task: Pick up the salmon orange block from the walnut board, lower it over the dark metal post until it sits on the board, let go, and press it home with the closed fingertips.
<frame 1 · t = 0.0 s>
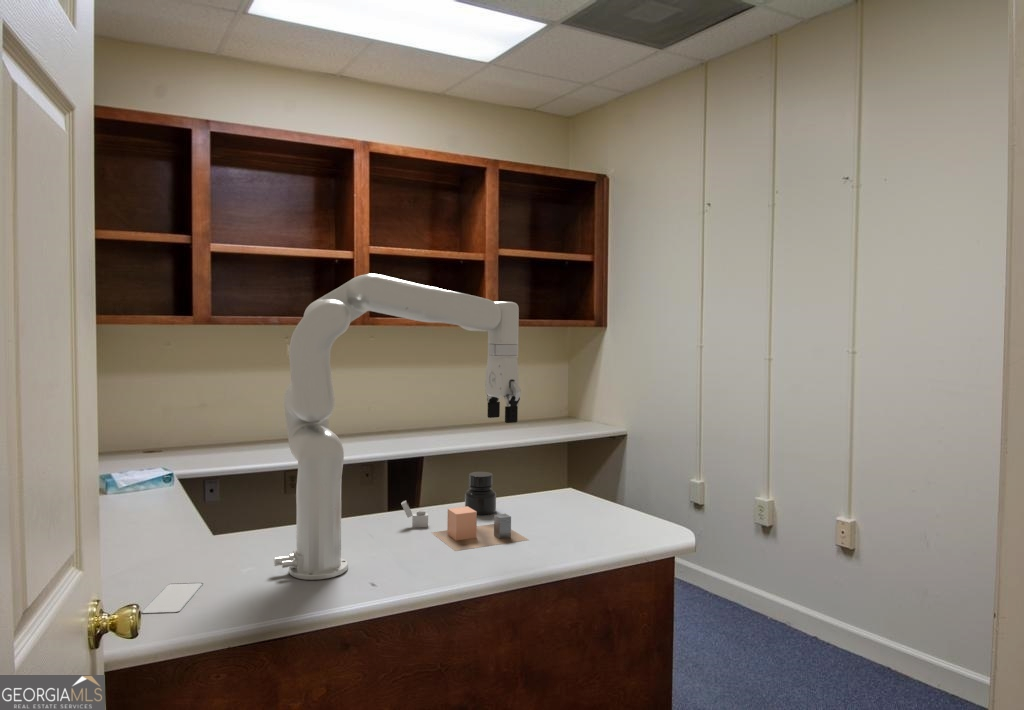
hand: (502, 419, 173), 31 cm above the worktop, tool pointing down, fingers open, 9 cm apart
ink bottle: (480, 516, 200), on the worktop
smartphone: (173, 600, 138), on the worktop
post: (502, 541, 176), resting on base board
salmon orange block: (461, 535, 176), point 1 cm above the worktop, touching base board
base board: (479, 540, 176), on the worktop
lighter: (414, 531, 184), on the worktop
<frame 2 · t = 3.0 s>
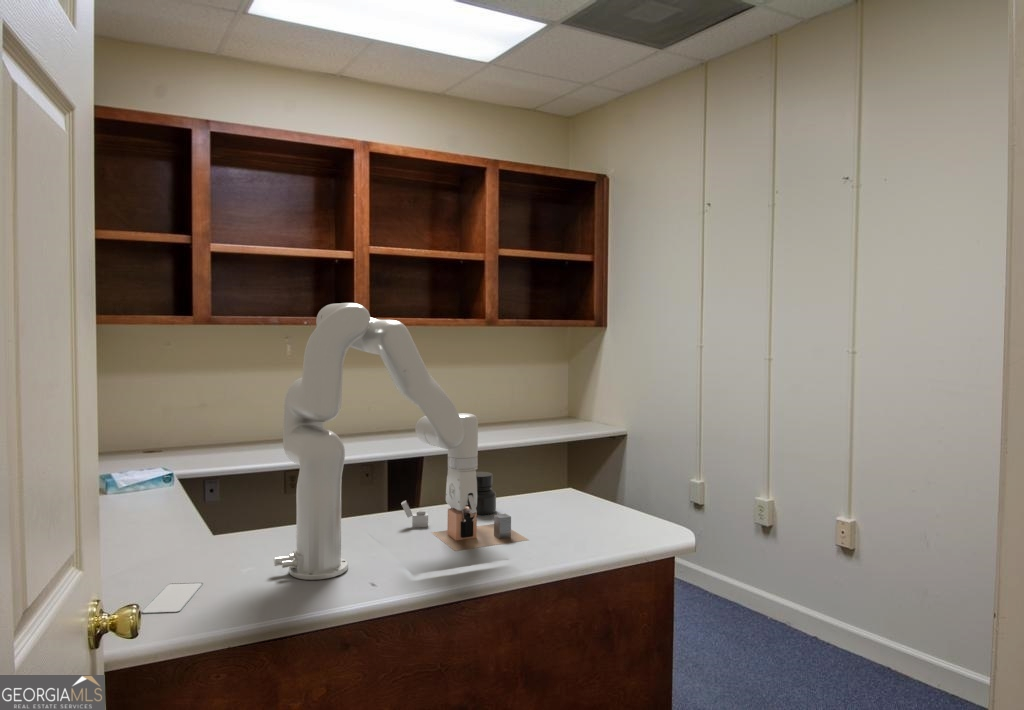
hand: (461, 532, 176), 2 cm above the worktop, tool pointing down, fingers closed on salmon orange block, 5 cm apart
salmon orange block: (461, 535, 176), point 1 cm above the worktop, touching base board, gripper
everything else where it was.
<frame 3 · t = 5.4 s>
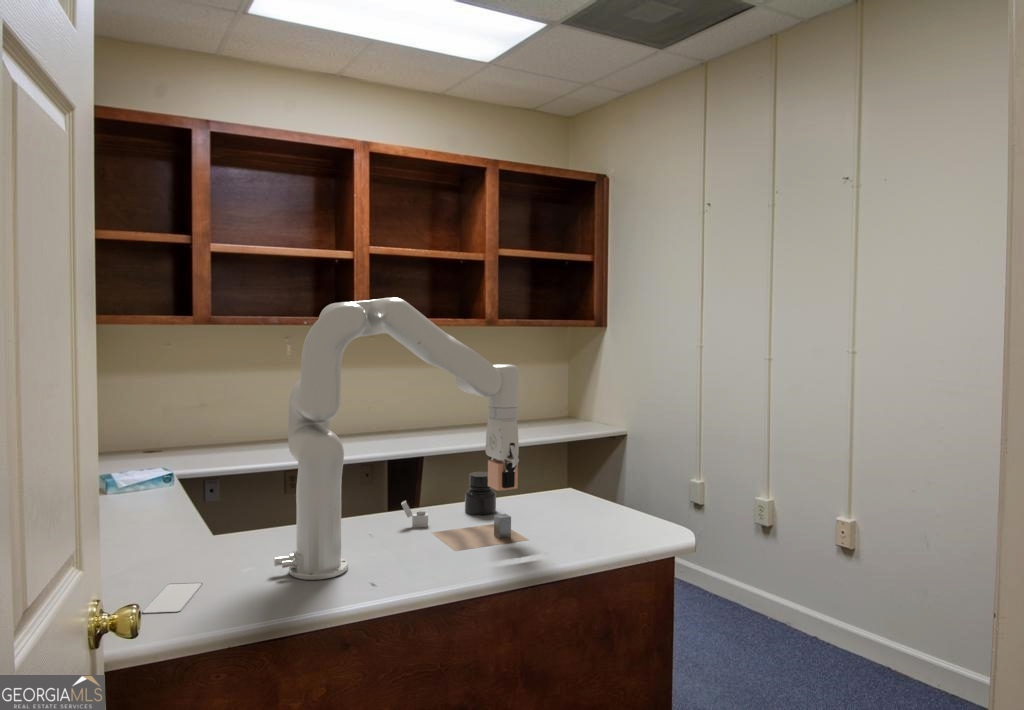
hand: (502, 484, 175), 15 cm above the worktop, tool pointing down, fingers closed on salmon orange block, 5 cm apart
salmon orange block: (502, 487, 175), point 14 cm above the worktop, touching gripper
everything else where it was.
when the fingers open (3 cm above the worktop, at t = 7.9 s): salmon orange block drops 1 cm, resting on base board.
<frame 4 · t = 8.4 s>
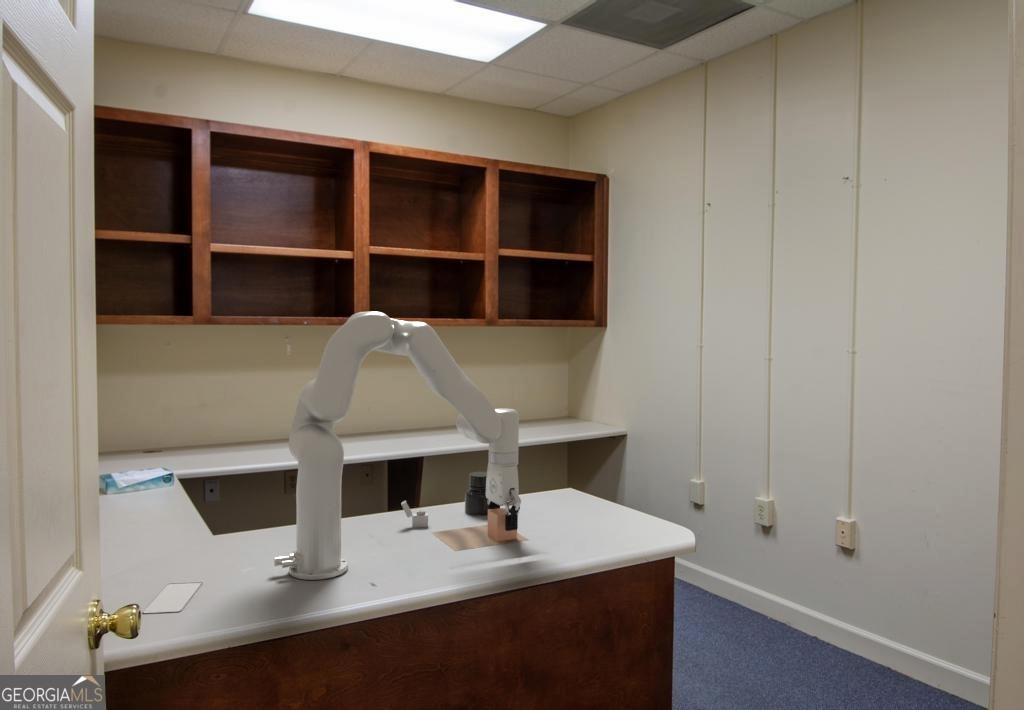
hand: (502, 524, 176), 4 cm above the worktop, tool pointing down, fingers open, 9 cm apart
salmon orange block: (502, 536, 176), point 1 cm above the worktop, touching base board
everything else where it was.
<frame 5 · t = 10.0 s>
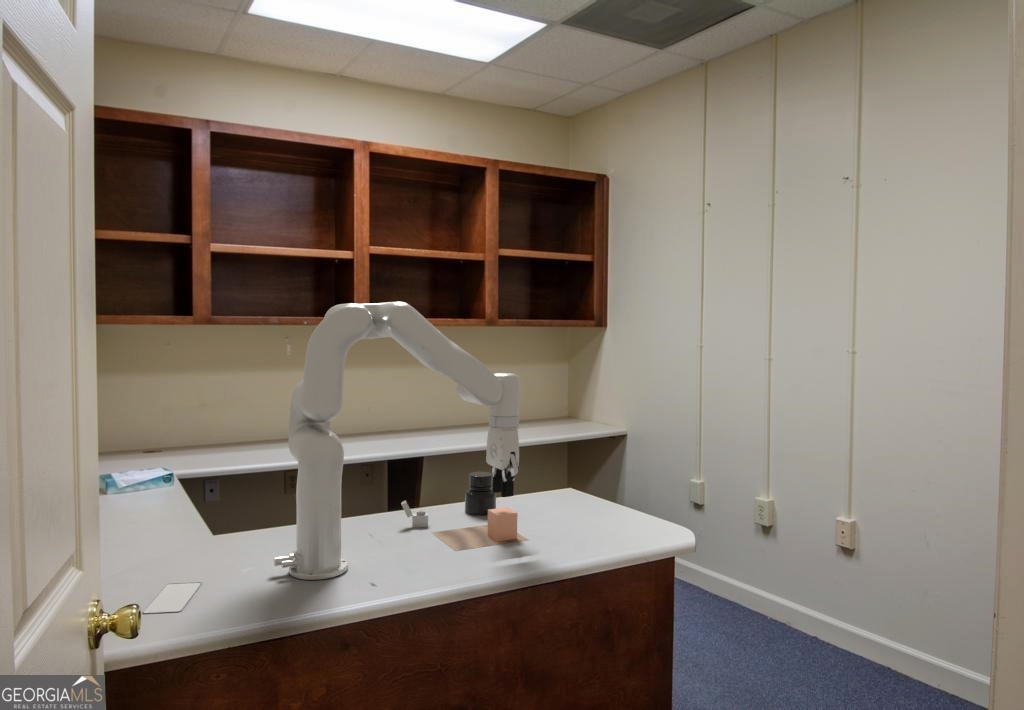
hand: (502, 493, 175), 12 cm above the worktop, tool pointing down, fingers open, 4 cm apart
nothing on the worktop moved.
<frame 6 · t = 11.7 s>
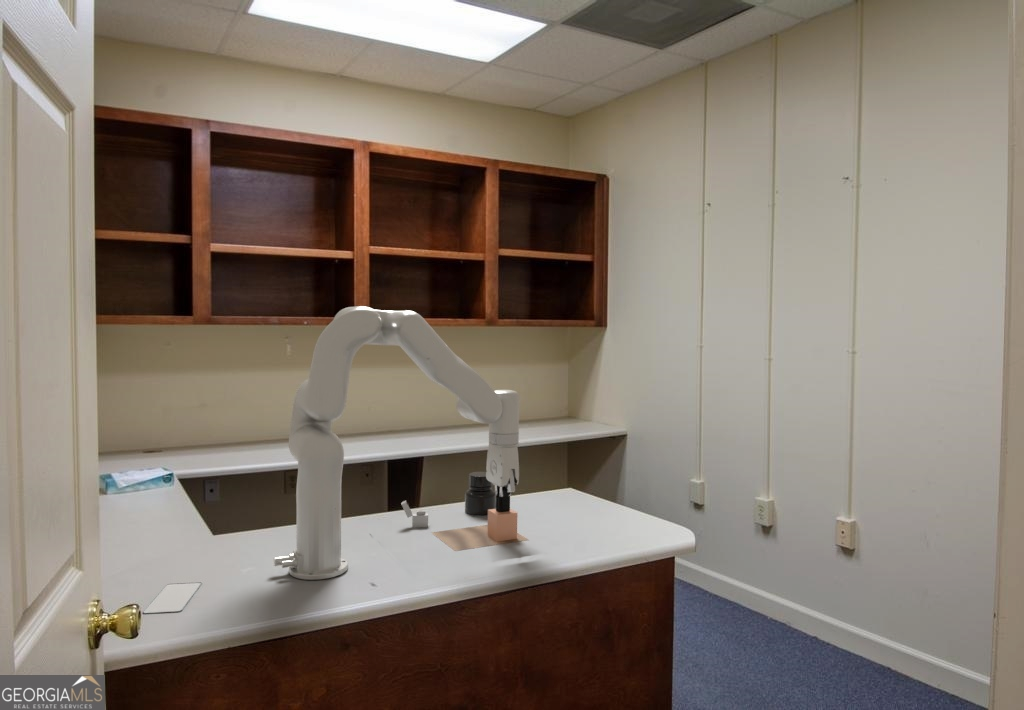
hand: (502, 511, 176), 8 cm above the worktop, tool pointing down, fingers closed
salmon orange block: (502, 536, 176), point 1 cm above the worktop, touching base board, gripper
everything else where it was.
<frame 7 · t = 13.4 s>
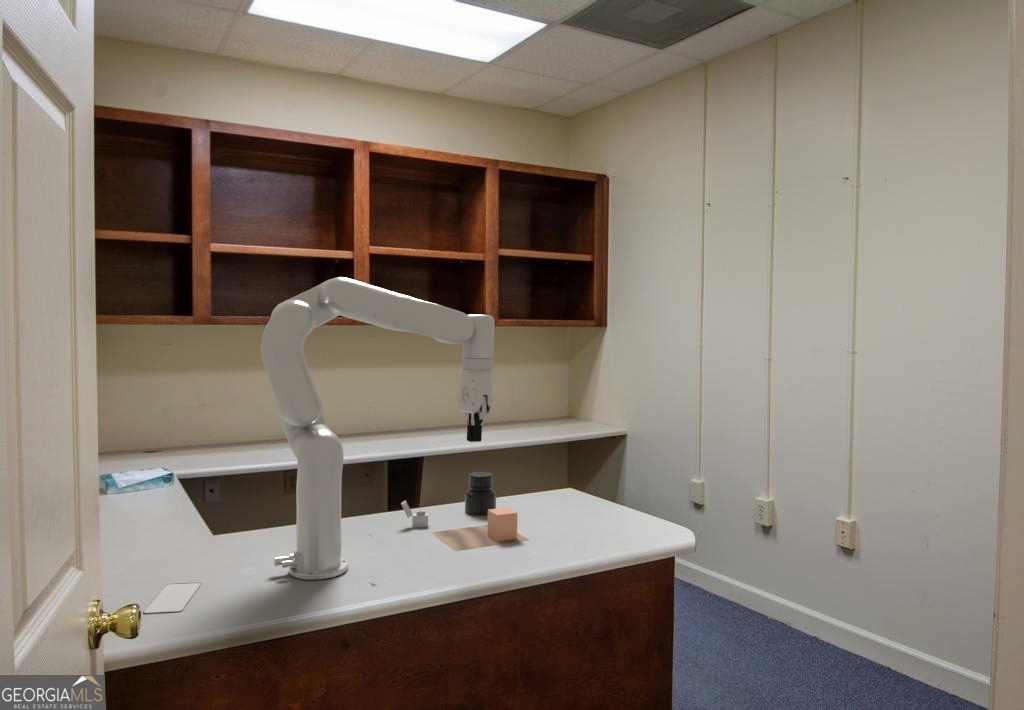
hand: (474, 441, 168), 27 cm above the worktop, tool pointing down, fingers closed
salmon orange block: (502, 536, 176), point 1 cm above the worktop, touching base board
everything else where it was.
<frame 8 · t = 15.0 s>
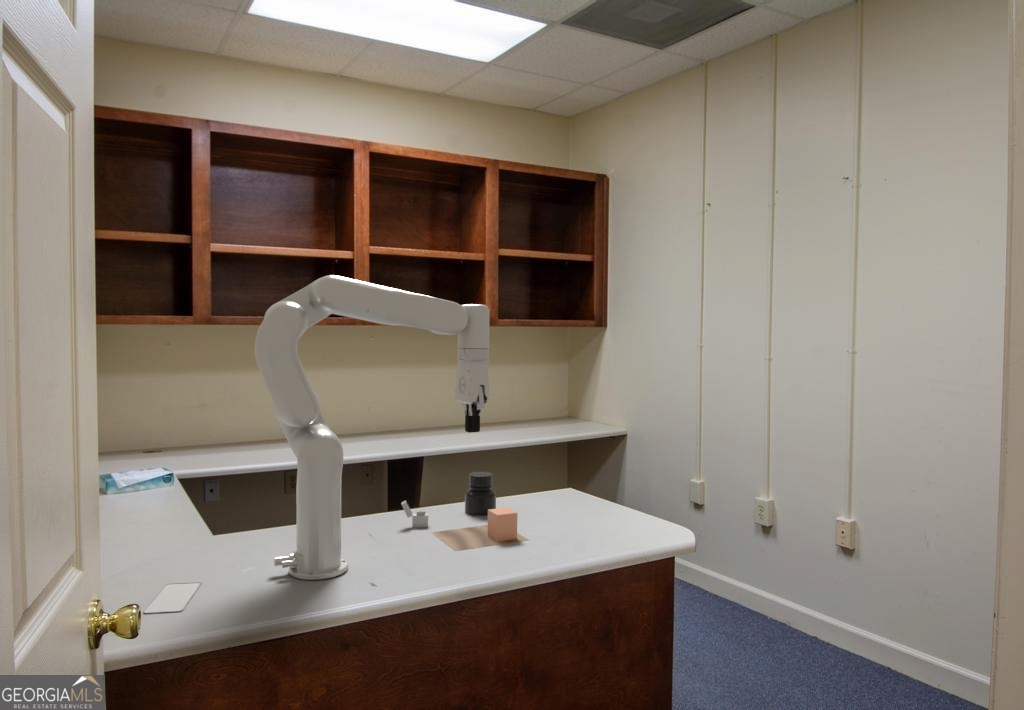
hand: (472, 431, 167), 29 cm above the worktop, tool pointing down, fingers closed
nothing on the worktop moved.
at the end: salmon orange block 0.0 cm from the post (horizontally); salmon orange block point 1.2 cm above the worktop; the gripper is holding nothing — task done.
